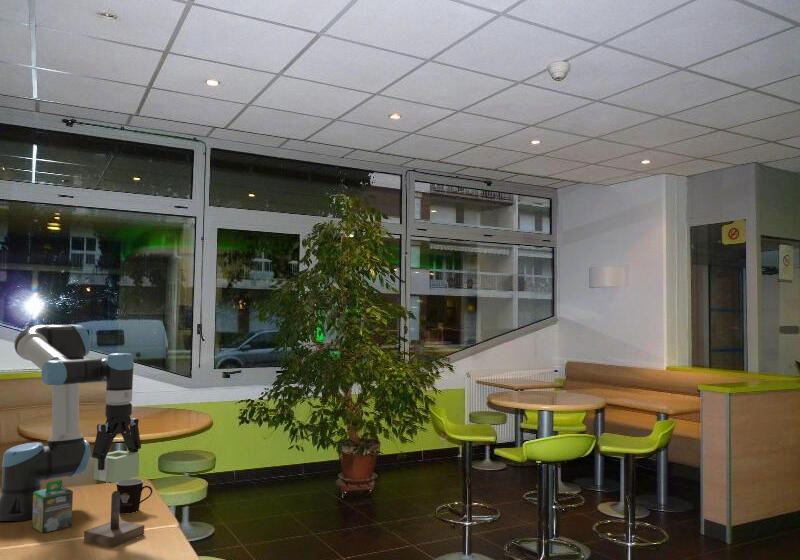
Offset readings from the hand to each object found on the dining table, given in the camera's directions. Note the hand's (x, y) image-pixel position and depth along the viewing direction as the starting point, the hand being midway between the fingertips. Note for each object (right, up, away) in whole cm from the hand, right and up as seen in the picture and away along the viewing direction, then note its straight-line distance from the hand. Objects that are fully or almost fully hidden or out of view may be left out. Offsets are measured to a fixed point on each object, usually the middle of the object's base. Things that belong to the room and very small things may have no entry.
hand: (116, 476), depth 196 cm
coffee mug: (-6, -20, +25) cm, 32 cm away
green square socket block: (0, 0, 0) cm, 0 cm away
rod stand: (0, -18, -1) cm, 19 cm away
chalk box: (-25, -19, +8) cm, 32 cm away
